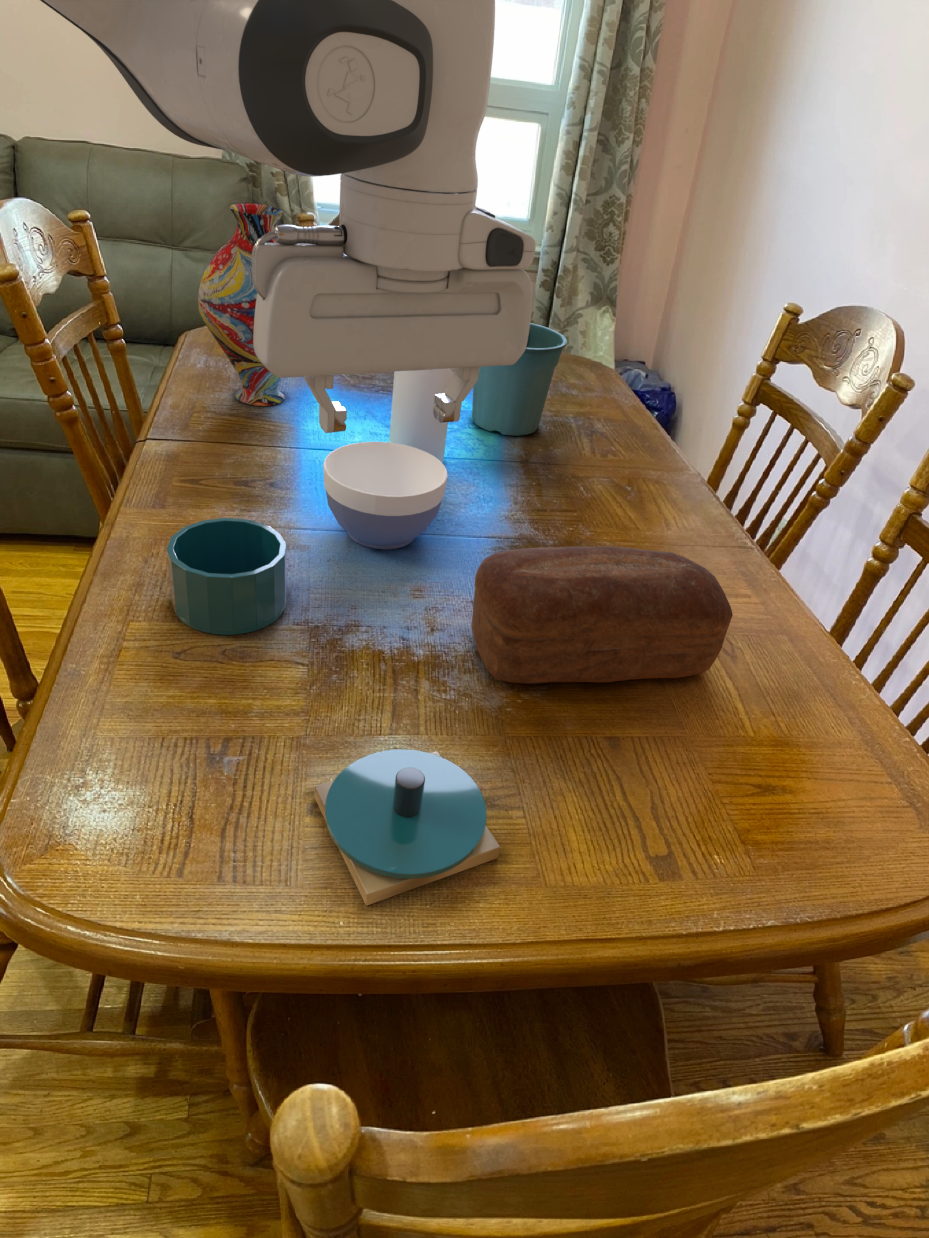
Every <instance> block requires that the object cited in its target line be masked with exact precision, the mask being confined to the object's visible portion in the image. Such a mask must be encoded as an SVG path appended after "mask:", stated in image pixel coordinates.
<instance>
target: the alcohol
mask: <svg viewBox="0 0 929 1238" xmlns="http://www.w3.org/2000/svg"><path fill="white" fill-rule="evenodd" d="M454 375H455V374H454V373H453V372H452V371H451V370H450V369H433V370H415V371H397V372H394V373H393V386H392V399H391V411H390V412H391V413H390V424H389V436H388V442H389V443H397V444H402V445H407V446H410V447H414V448H417V449H420V450H422V451H425V452H427V453H429V454H431V455H433V456H434V457H436V458H437V459H438V460H440V461H441V462H442V463H444V460H445V451H446V444H447V435H448V426H449V422H446V423H441V422H439V420H438V419H436V418H435V417H434V413H433V410H434V407H435V403H434V400H435V394H445V393H444V392H445V391H446V389H447V387H448V385H449V384H450V382H451V380H452V378H453V377H454Z"/></svg>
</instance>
